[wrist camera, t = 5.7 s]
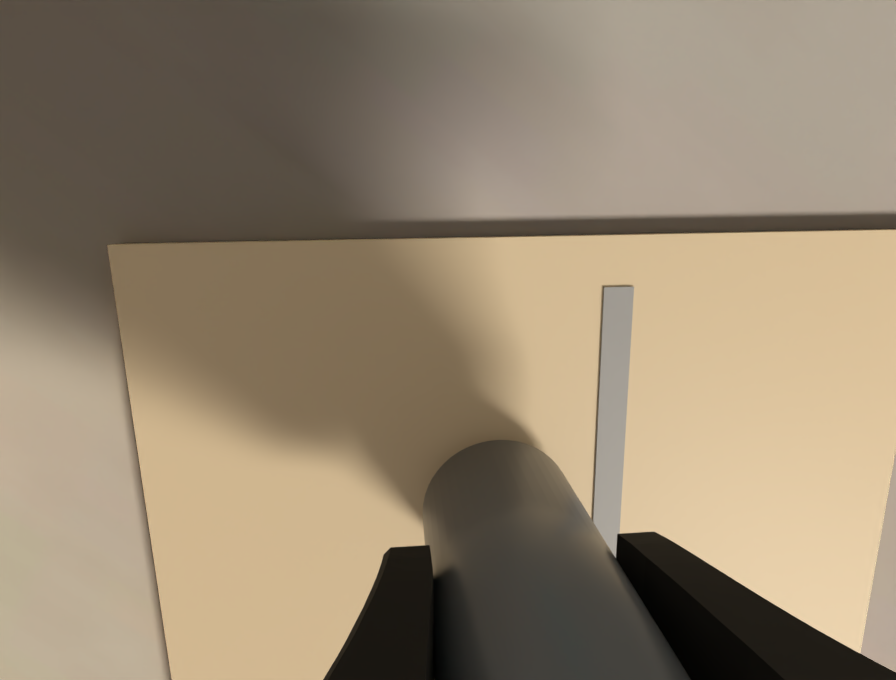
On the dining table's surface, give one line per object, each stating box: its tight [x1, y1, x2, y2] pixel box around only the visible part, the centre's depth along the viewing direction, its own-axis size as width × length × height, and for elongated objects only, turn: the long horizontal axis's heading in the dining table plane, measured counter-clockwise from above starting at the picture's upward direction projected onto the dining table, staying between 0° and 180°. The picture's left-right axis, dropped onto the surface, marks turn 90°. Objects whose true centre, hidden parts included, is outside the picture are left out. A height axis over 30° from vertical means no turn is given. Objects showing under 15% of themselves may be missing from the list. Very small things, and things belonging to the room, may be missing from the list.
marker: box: [423, 440, 691, 680], centre depth 7 cm, size 3×3×8 cm
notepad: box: [107, 229, 896, 680], centre depth 12 cm, size 12×16×1 cm
